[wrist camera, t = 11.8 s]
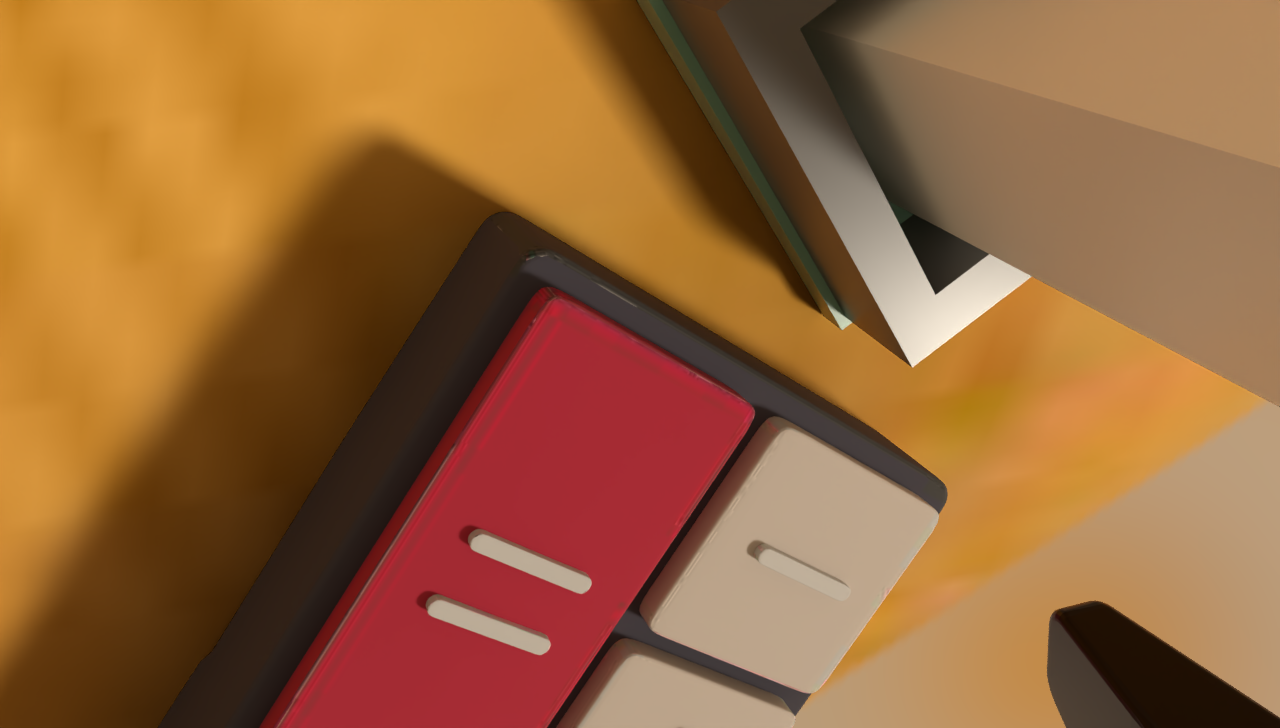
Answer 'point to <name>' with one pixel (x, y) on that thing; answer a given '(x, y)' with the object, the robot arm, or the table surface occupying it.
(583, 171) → the table surface
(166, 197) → the table surface
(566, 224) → the table surface
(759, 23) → the grey and green tray
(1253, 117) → the plug
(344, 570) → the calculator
